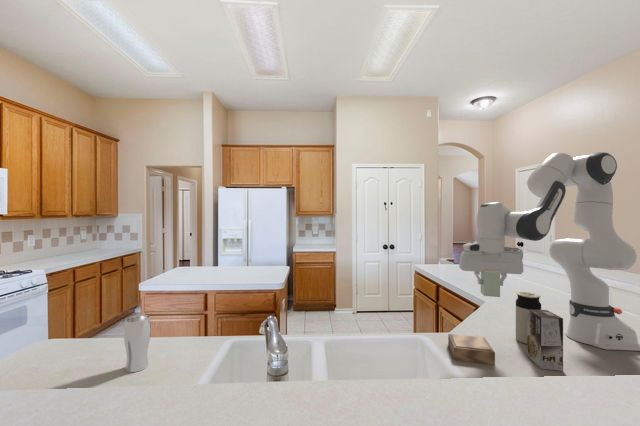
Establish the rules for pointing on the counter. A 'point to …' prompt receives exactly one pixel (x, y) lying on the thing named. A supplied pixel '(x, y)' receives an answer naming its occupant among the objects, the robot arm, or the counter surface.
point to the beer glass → (137, 342)
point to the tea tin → (490, 283)
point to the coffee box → (545, 339)
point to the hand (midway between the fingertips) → (490, 284)
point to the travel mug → (525, 313)
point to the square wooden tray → (471, 349)
